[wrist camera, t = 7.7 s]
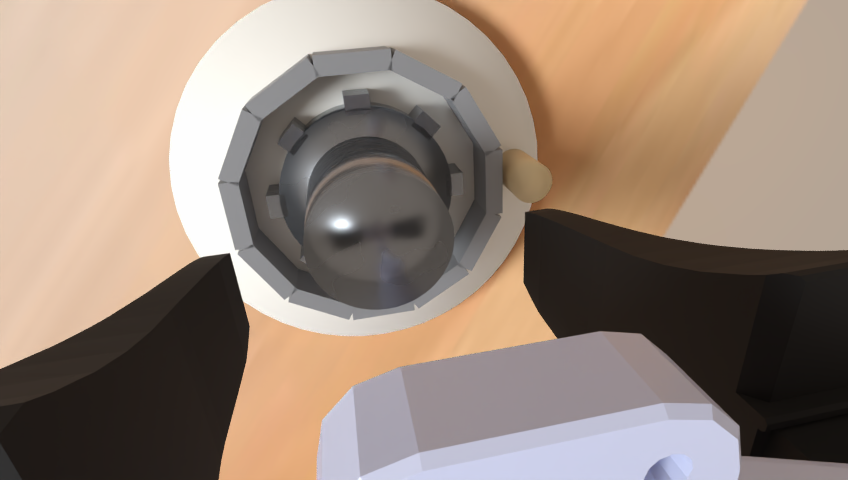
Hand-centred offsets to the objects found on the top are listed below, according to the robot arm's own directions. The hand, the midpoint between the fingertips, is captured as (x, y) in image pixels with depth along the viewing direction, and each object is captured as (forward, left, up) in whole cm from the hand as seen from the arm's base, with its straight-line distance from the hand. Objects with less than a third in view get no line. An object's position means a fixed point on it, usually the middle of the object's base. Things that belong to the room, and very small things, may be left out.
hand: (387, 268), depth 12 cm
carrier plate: (0, 0, -7) cm, 7 cm away
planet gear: (0, 0, -6) cm, 6 cm away
